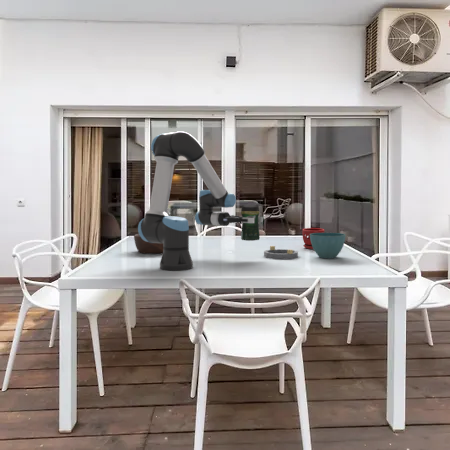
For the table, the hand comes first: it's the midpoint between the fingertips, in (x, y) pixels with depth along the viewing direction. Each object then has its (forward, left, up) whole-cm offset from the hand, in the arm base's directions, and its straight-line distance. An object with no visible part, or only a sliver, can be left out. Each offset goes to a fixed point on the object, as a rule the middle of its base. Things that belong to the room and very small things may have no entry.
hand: (258, 220), depth 204 cm
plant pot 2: (+16, -34, -21) cm, 43 cm away
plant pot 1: (+48, -24, -21) cm, 57 cm away
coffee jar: (+1, +4, -11) cm, 12 cm away
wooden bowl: (+12, +64, -21) cm, 69 cm away
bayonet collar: (+13, -10, -20) cm, 26 cm away
